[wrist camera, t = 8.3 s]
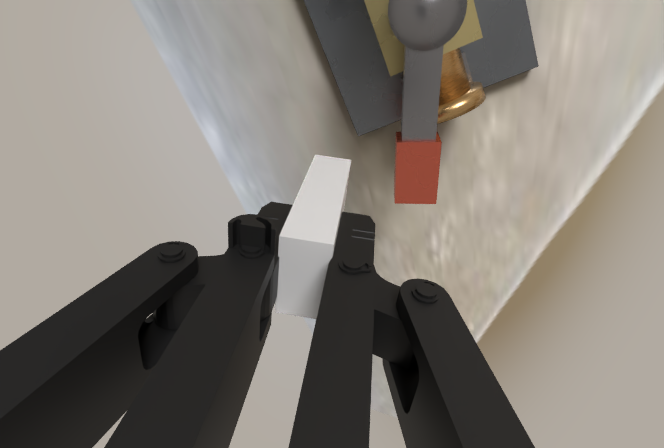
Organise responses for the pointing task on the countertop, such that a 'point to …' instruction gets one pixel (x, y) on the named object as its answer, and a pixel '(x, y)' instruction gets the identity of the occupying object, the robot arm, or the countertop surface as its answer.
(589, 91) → the countertop surface
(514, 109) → the countertop surface
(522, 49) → the valve
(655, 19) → the countertop surface
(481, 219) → the countertop surface
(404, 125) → the lever
